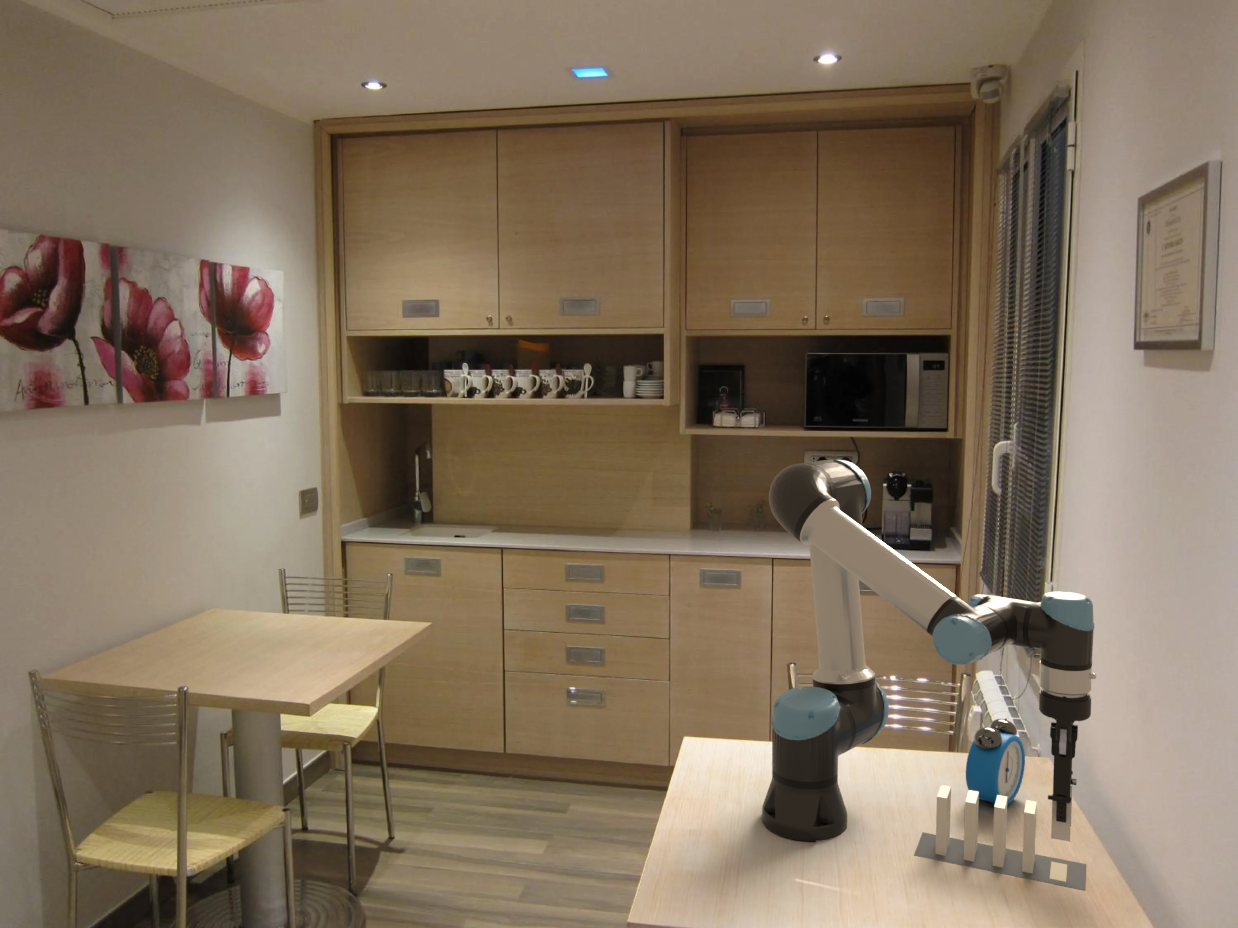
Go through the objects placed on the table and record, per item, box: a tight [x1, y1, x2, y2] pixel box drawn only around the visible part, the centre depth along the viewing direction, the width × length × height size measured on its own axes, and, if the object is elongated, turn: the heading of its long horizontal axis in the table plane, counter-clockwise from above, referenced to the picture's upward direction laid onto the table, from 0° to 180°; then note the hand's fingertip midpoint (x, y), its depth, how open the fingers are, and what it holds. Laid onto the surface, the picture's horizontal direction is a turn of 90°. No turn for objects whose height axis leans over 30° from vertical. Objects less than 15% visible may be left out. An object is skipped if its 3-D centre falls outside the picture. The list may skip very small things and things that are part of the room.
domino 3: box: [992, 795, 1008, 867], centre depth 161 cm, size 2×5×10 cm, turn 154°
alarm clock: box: [965, 718, 1026, 806], centre depth 184 cm, size 13×6×15 cm, turn 135°
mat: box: [913, 832, 1087, 891], centre depth 162 cm, size 26×9×1 cm, turn 64°
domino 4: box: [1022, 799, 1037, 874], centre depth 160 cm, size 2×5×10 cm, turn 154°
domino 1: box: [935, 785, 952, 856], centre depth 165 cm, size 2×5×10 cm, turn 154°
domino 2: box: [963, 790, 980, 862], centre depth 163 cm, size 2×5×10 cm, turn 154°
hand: (1061, 830), depth 157 cm, fingers closed on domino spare, 5 cm apart
